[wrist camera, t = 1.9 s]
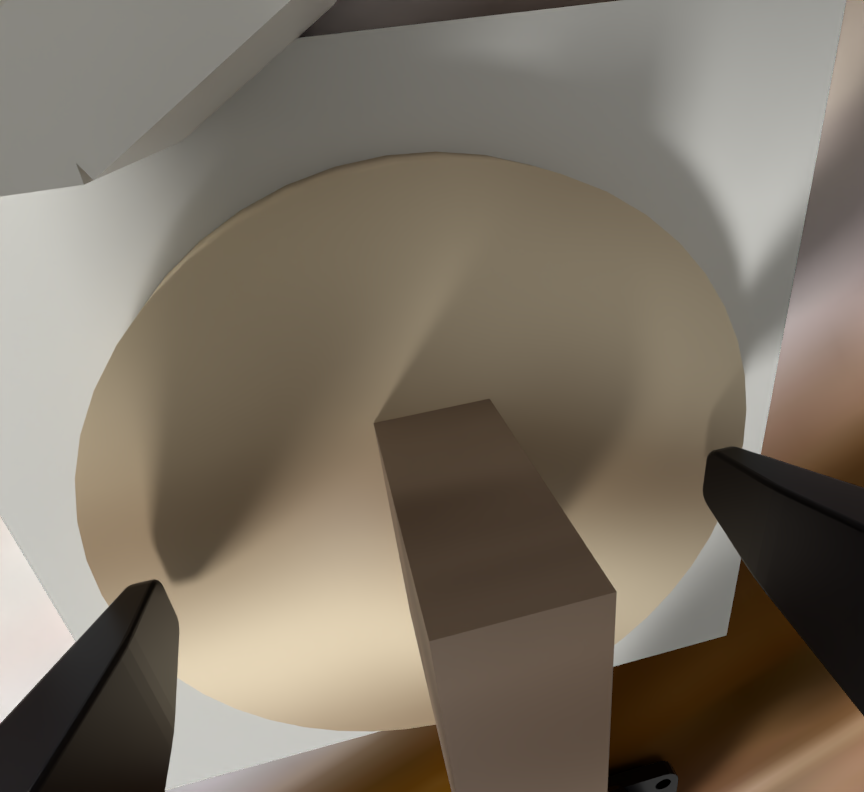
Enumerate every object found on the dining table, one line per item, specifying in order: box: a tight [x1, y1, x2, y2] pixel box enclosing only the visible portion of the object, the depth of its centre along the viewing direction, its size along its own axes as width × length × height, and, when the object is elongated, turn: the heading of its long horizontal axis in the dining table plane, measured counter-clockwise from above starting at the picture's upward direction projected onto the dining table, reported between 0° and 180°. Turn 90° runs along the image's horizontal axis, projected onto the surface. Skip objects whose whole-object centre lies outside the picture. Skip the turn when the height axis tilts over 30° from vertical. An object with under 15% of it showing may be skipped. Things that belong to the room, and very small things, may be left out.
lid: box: [75, 152, 746, 792], centre depth 9 cm, size 11×11×5 cm
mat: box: [0, 0, 846, 791], centre depth 11 cm, size 14×14×1 cm
